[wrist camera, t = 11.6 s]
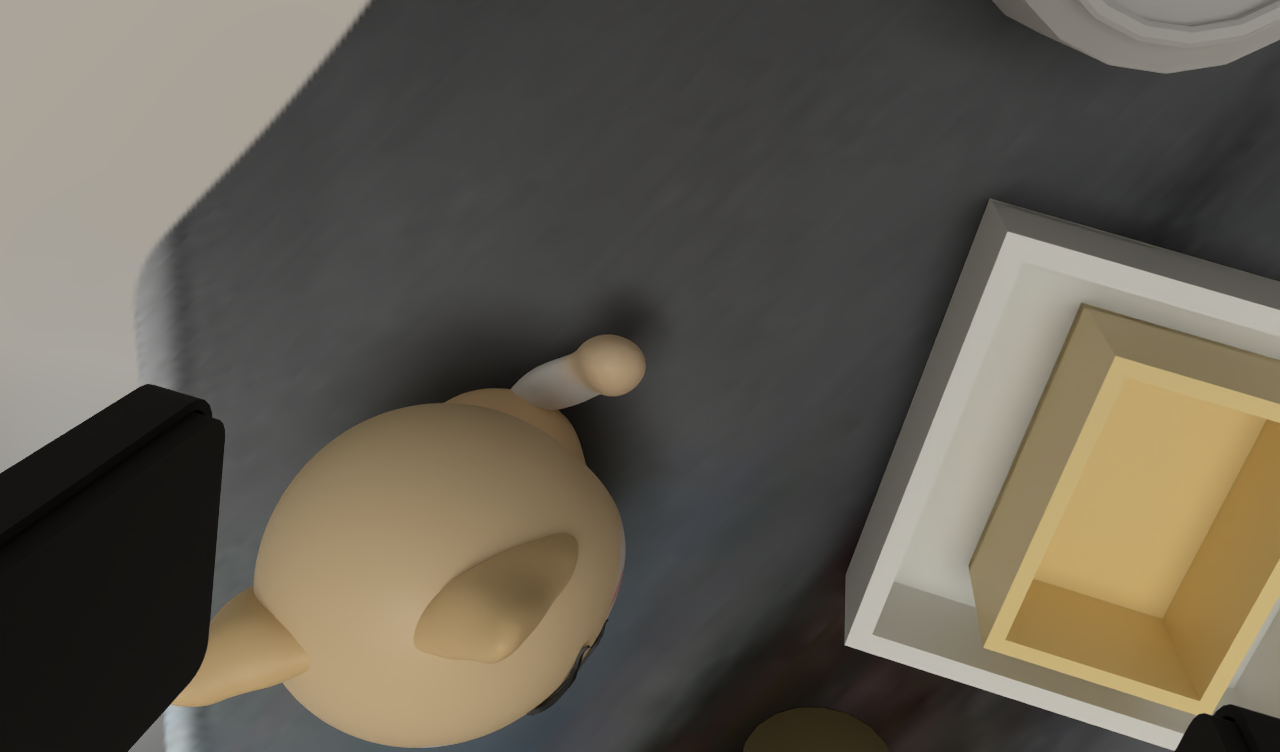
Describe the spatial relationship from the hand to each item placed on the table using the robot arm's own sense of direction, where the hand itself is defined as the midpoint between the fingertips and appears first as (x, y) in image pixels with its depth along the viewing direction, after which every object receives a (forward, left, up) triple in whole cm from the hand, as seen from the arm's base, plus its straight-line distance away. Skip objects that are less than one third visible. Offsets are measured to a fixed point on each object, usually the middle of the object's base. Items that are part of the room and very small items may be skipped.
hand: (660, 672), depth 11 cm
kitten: (+14, -7, -28) cm, 32 cm away
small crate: (+7, +13, -27) cm, 31 cm away
